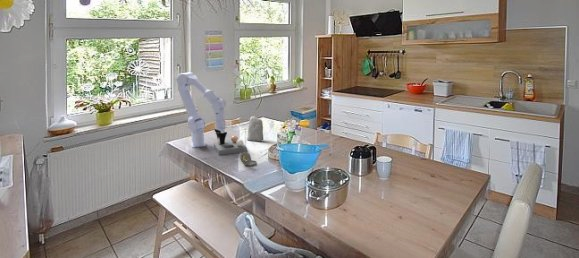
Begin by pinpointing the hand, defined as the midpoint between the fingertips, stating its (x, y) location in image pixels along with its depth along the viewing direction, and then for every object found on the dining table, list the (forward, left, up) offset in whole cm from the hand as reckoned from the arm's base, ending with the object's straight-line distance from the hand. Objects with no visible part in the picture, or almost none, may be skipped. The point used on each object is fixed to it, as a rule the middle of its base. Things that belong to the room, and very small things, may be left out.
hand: (221, 142), depth 221 cm
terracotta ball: (0, +8, +1) cm, 8 cm away
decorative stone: (-8, +23, -4) cm, 24 cm away
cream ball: (+10, +9, +1) cm, 13 cm away
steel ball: (0, 0, +1) cm, 1 cm away
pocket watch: (+36, +7, -4) cm, 36 cm away
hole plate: (+4, +4, -3) cm, 7 cm away
